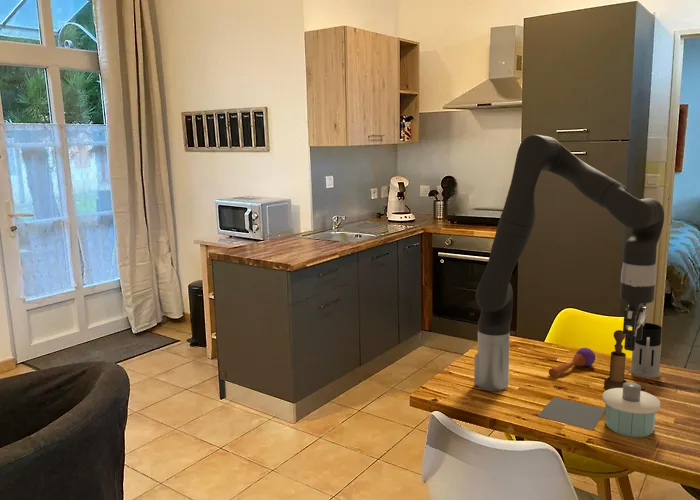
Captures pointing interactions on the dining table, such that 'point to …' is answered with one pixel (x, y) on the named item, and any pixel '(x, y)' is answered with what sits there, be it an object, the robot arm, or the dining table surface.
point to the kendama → (575, 362)
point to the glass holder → (647, 352)
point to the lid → (631, 399)
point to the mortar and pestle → (616, 364)
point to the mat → (572, 413)
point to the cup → (629, 422)
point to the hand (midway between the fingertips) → (633, 345)
